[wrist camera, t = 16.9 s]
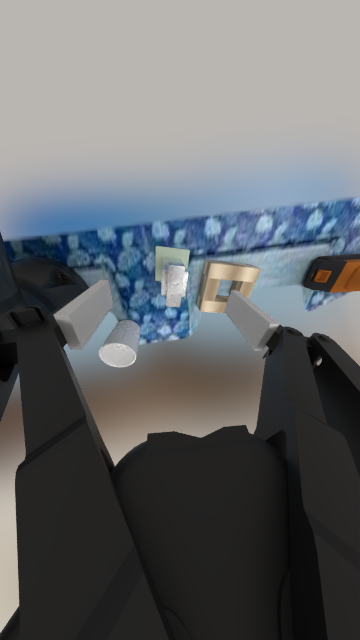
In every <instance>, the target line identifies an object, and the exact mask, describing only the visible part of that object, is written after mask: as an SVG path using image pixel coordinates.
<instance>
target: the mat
mask: <svg viewBox="0 0 360 640" xmlns="http://www.w3.org/2000/svg"><path fill="white" fill-rule="evenodd" d="M189 253H190V250H185V249H178V248H170V247H162V246H156V271H155V281H162V267H163V259H164V257H172V258H180V259H181V260H182V262H183V264H184V265H185V267H186V269H187V267H188V260H189Z"/></svg>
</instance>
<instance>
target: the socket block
mask: <svg viewBox="0 0 360 640" xmlns="http://www.w3.org/2000/svg"><path fill="white" fill-rule="evenodd" d="M260 271H261V269H260V268H258V267H255V266H252V265H246V264H238V263H229V262H221V261H212V260H206V262H205V267H204V271H203V276H202V281H201V286H200V291H199V296H198V300H197V306H198V308H199V310H200V311H201V312H217V313H225V312H224V310H225V307H226V304H227V301H228V298H229V296H230V293H231V290H235V291H239V292H240V293H241V294H242V295H244V296H245V297H246V298H247V299H248V298H249V296H250V294H251V291H252V289H253V287H254V285H255V282H256V280H257V278H258V275H259V273H260ZM221 279H224V280H234V281H233V284H232V287H231V290H230V293H229V296H219V295H216V294H217V290H218V287H219V283H220V280H221Z"/></svg>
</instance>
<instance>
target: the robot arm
mask: <svg viewBox="0 0 360 640" xmlns="http://www.w3.org/2000/svg"><path fill="white" fill-rule="evenodd" d="M112 306H113V301H112V295H111V290H110V284H109V280H99V281H98V282H97V283H95V284H94V285H93V286H91V287H90V288H88V286H87V284H86V283H85V282H84V280H83V279H82V278H81V277H80V276H79V275H78V274H77V273H76V272H74V271H73V270H72V269H70V268H69V267H67V266H66V265H64V264H62V263H60V262H58V261H55V260H52V259H49V258H44V257H29V258H24V259H19V260H16V261H14V262H12V263H11V262H10V259H9V257H8V254H7V251H6V248H5V245H4V242H3V239H2V236H1V233H0V421H1V418H2V416H3V413H4V410H5V408H6V405H7V402H8V400H9V397H10V395H11V392H12V389H13V387H14V384H15V381H16V378H17V376H18V373H19V377H20V388H21V401H22V411H23V423H24V434H25V446H26V457H25V460H24V461H23V462H22V463H21V464H20V465H19V466H18V468H17V471H16V478H15V497H16V522H17V548H18V549H17V550H18V576H19V577H18V578H19V607H18V608H17V610H16V611H15V613H14V614H13V616H12V617H11V618H10V620H9V621H8V623H7V624H6V626H5V627H4V629H3V630H2V632H1V633H0V640H360V366H359V365H358V364H357V363H356V362H355V361H354V360H353V359H352V358H351V357H350V356H349V355H348V354H347V353H346V352H345V351H344V350H343V349H342V348H341V347H340V346H339V345H338V344H337V343H336V342H335V341H334V340H332V339H331V338H329V337H328V336H326V335H324V334H319V333H313V334H312V336H311V337H310V338H309V337H304V336H303V334H302V333H301V332H299V331H298V330H296V329H294V328H291V327H282V326H281V325H280V324H279V323H278V322H276V321H275V320H274V319H273V318H271V317H270V316H269V315H268V314H266V313H265V312H264V311H263V310H261V309H260V308H259V307H258V306H256V305H255V304H254V303H252V302H251V301H250V300H249V299H247V298H246V297H245V296H244V295H242V294H241V293H240V292H239V291H235V290H231V293H230V296H229V298H228V301H227V304H226V307H225V310H224V312H225V313H226V314H227V315H228V317H229V318H230V319H231V320H232V322H233V323H234V325H235V326H236V327H237V329H238V330H239V331H240V332H241V334H242V335H243V336H244V338H245V339H246V340H247V342H248V343H249V344H250V345H251V347H252V348H253V349H254V350H256V351H257V350H258V351H261V350H263V349H264V347H265V346H266V345H267V346H268V348H269V349H268V351H267V352H266V353H265V355H264V356H263V359H264V358H265V357H266V361H265V368H264V375H263V383H262V390H261V398H260V405H259V413H258V421H257V427H256V430H255V432H254V434H250V433H249V432H248V429H247V427H246V425H241V426H230V427H223V428H221V429H219V430H217V431H215V432H213V433H211V434H209V435H207V436H205V437H202V438H198V437H195V436H190V435H186V434H182V433H178V432H174V431H173V432H162V433H151V434H148V436H147V441H145V442H143V443H141V444H139V445H138V446H136V447H134V448H133V449H132V450H131V451H129V452H128V453H127V454H126V455H125V456H124V457H123V458H122V459H121V460H120V461H119V462H118V464H117V465H116V466H114V463H113V461H112V459H111V456H110V454H109V452H108V450H107V448H106V446H105V444H104V442H103V439H102V437H101V435H100V433H99V430H98V428H97V425H96V423H95V421H94V418H93V416H92V414H91V411H90V409H89V407H88V404H87V402H86V400H85V397H84V395H83V393H82V390H81V388H80V386H79V383H78V381H77V378H76V376H75V374H74V371H73V369H72V367H71V364H70V362H69V360H68V357H67V355H66V353H65V350H64V349H63V347H64V346H65V345H66V344H68V346H69V348H70V349H81V350H82V349H83V348H84V346H85V345H86V344H87V342H88V341H89V339H90V338H91V336H92V335H93V334H94V332H95V331H96V329H97V328H98V326H99V325H100V324H101V322H102V321H103V319H104V318H105V316H106V315H107V313H108V312H109V311H110V309H111V308H112ZM321 358H322V362H321V364H320V365H319V366H318V365H317V364H316V363H317V362H318V361H319V360H320V359H321Z"/></svg>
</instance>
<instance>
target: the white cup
mask: <svg viewBox="0 0 360 640" xmlns="http://www.w3.org/2000/svg"><path fill="white" fill-rule="evenodd" d="M139 338H140V327H139V326H138V324H137V323H135V322H133V321H131V320H122V321H120V322H119V323H117V325H116V327H115V328H114V329H113V330H112V332H111V333H110V335H109V336H108V338H107V340H106V341H105V342H104V344H103V345H102V348H101V349H100V350H99V356H100V358H101V360H102V361H103V362H105V363H106V364H108V365H111V366H114V367H126V366H129V365H131V364H132V363H134V361H135V359H136V355H137V350H138V344H139Z"/></svg>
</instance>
